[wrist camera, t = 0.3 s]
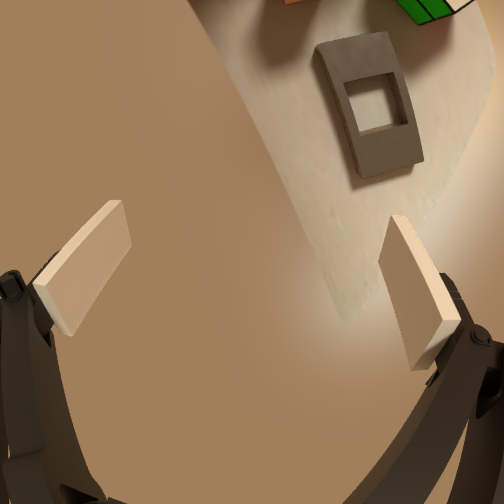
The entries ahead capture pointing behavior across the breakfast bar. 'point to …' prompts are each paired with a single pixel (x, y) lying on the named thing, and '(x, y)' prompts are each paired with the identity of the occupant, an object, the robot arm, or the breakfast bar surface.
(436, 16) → the puzzle cube
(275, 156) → the breakfast bar surface
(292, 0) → the peg block
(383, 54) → the rail
